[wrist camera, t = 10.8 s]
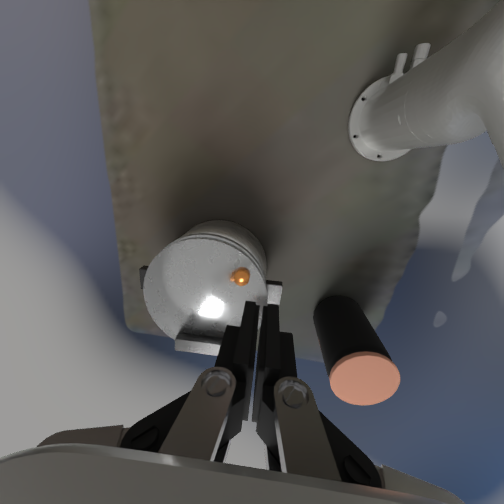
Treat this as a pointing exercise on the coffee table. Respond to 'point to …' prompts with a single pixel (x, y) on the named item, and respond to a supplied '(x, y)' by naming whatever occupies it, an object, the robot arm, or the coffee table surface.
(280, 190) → the coffee table surface
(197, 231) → the cooker pot
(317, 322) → the coffee jar
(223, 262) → the cooker lid
